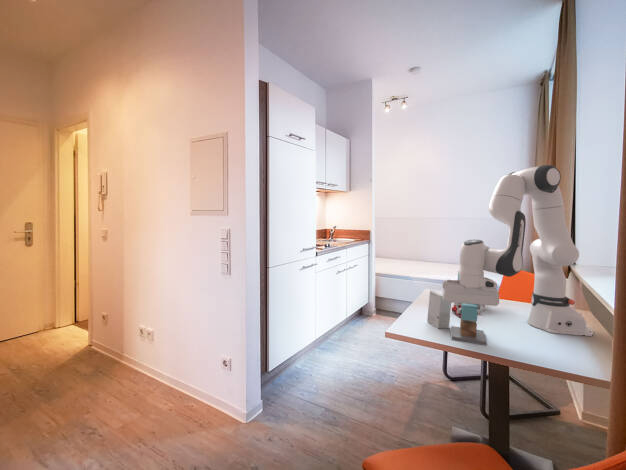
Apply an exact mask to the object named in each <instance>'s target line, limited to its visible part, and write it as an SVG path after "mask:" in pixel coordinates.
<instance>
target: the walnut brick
mask: <svg viewBox="0 0 626 470" xmlns="http://www.w3.org/2000/svg"><path fill="white" fill-rule="evenodd" d="M459 324H460V325H459V327H460V333H461V335H465V336H472V337H476V331H477V330H478V329H477V327H478V324H477V321H471V320H464V319H461V318H460V322H459Z"/></svg>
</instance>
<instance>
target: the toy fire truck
mask: <svg viewBox="0 0 626 470" xmlns="http://www.w3.org/2000/svg"><path fill="white" fill-rule="evenodd" d="M457 306H458V307H459V308H462V306H461V305H460V303H459V305H457ZM451 311H452V314H454V315H456V316H457V317H458V318H460V319H461V314H458V313H457V308H456V306H455V304H453V306H451Z"/></svg>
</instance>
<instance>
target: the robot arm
mask: <svg viewBox="0 0 626 470" xmlns="http://www.w3.org/2000/svg"><path fill="white" fill-rule="evenodd" d="M561 178H562V175H561V172H560V170H559V169H558V168H557V167H556V166H555V165H553V164H552V165H551V164H543V165H539V166H538V165H537V166H533V167H532V166H530V167H527V168H525V169H521V170H517V171H513V172H509V173H508V174H507V175H503V177H501V178H500V179H499V181H498V182H497V185H496V186H495V188H494V191H493V193H492V194H491V198H490V201H489V204H488V211H489V214H490V215H491V216H492V218H493V219H495V220H496V221H498V222H500V223H503V224H505V225H506V226H508V236H507V243H506V247H505V248H504V249H503V248H502V249H501V248H494V247H489V246H487V245H485V243H484V241H483V240H481V239H467V240H465V241H463V242H462V244H461V247H460V253H459V266H460V267H459V270H458V271H459V280H458V279H450V278H447V279H446V280H443V282H442V289H443V290H442V291H443V300H444V301H445V302H451V303H453V305H455V306H456V308H457V313H458V314H462V309H461V308H459V307H458V306H457V305H459V303H465V304H478V305H480V306H481V308H478V314H477V316H482V313H483V311H484V310H485V309H486V306H491V307H493V306H494V307H497V306H498V305H499V304H500V292H499V290H498V288H497V287H498V283H497V282H496V281H495V280H493V279H491V278H488V277H486V276H485V271H486V272H490V273H494V274H498V275H501V276H504V277H506V278H507V277H509V278H510V277H513V276H516V275H517V274H519V273H520V271H522V269H523V265H524V259H523V250H524V243H525V234H526V233H525V232H526V225H527V224H526V222H527V221H526V216H525V214H524V213H523V212H522V209H521V208H522V203H523V199H524V196H527V195H529V196H531V209H532V219H533V220H532V221H533V227H534V229H535V231H536V232H537V235H538V237H539V238H537V239H535V240H533V241H532V242H531V243H530V245H529V251H530V254H531V256H532V257H531V258H532V265H533V271H534V272H533V273H534V283H533V284H534V285H533V291H532V295H531V302H530V303H531V308H530V309H531V310H530V313H529V316H528V318H527V321H526V322H527V324H528V325H530V326H532V327H533V328H537V329H540V330H544V331H546V332H548V333H551V334H561V335H569V336H570V335H571V336H582V335H585V336H584V337H593V336H594V332H593V330H592V329H591V328H590V327H588V326H587V321H586V319H585V317H584V316H583V315H582V314H581V313H580V312H579V311H577V310H576V309H575V308H574V307H572V306H574V305H575V303H576V302H575V300H573V299H571V298H569V297H567V296H566V291H567V289H566V287H567V278H566V275H565V273H564V270H563V267H567V266H568V267H569V266H572V265H574V264H575V263H576V262H577V261H578V260H579V257H580V251H579V250H578V248H577V247H576V245H575V244H574V242H573V240H572V237H571V234H570V231H569V229H568V226H567V221H566V212H565V203H564V197H563V194H562V190H561V188H560V183H561V180H562V179H561ZM592 335H593V336H592Z"/></svg>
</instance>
